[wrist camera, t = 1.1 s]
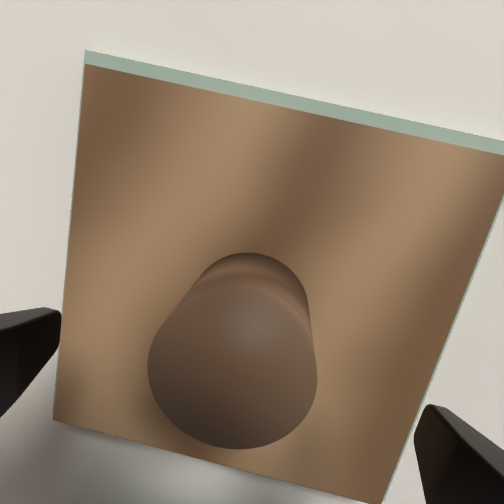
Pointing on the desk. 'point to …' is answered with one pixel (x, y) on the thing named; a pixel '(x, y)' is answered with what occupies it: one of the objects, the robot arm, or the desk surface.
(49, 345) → the robot arm
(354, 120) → the mat
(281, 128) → the lid
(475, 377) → the desk surface
